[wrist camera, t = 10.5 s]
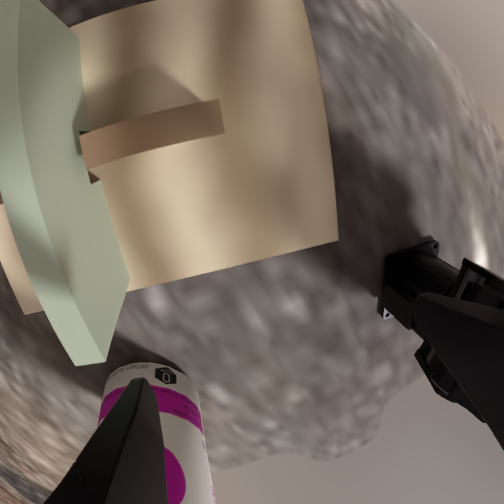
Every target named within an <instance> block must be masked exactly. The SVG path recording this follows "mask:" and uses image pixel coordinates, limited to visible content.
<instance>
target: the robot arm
mask: <svg viewBox="0 0 504 504" xmlns="http://www.w3.org/2000/svg"><path fill="white" fill-rule="evenodd" d="M438 251H439V242H437V241H435V240H432V241H429V242H426V243H423V244H420V245H417V246H414V247H411V248H408V249H404V250H401V251H398V252H395V253H392V254H389V255H387V256H386V258H385V264H384V282H383V296H382V310H381V316H382V318H384V319H385V320H386V319H389V318H392V317H395V318H396V319H397V320H398V321H399V322H400V323H401V324H402V325H403V326H404V327H405V328H407V329H408V330H410V329H412V330H413V331H414V332H416V333H417V334H418V335H419V336H420V337H421V338H422V339H423V340H424V341H423V343H422V345H421V346H420V348H419V349H417V351H416V353H415V354H414V356H415V357H416V359H417V361H418V363H419V364H420V366H421V368H422V370H423V371H424V373H425V375H426V376H427V378H428V380H429V382H430V383H431V385H432V387H433V389H434V390H435V392H436V393H437V394H439V395H440V396H441V397H443V398H445V399H447V400H449V401H451V402H454V403H458V404H460V405H461V406H463V407H465V408H466V409H467V410H468V411H470V412H471V413H472V414H473V415H474V416H475V417H477V418H478V419H479V420H480V421H481V422H483V423H487V425H488V426H489V428H490V429H491V431H492V432H493V434H494V436H495V437H496V439H497V441H498V442H499V444H500V445H501V447H502V449H503V450H504V279H503V278H501V277H500V276H498V275H496V274H495V273H493V272H491V271H489V270H488V269H486V268H484V267H482V266H480V265H478V264H476V263H474V262H472V261H470V260H468V259H466V258H464V259H463V261H462V267H461V269H460V270H458V269H456V268H455V267H453V266H451V265H450V264H448V263H446V262H444V261H443V260H441V259H439V258H438ZM390 260H391V261H390ZM43 504H168V496H167V485H166V471H165V453H164V441H163V434H162V428H161V422H160V415H159V407H158V400H157V397H156V394H155V393H154V391H153V389H152V387H151V386H150V384H149V382H148V380H147V379H146V378H145V377H139V378H134V379H132V380H131V381H130V382H129V384H128V385H127V386H126V388H125V389H124V391H123V392H122V393H121V395H120V396H119V398H118V399H117V401H116V402H115V403H114V405H113V406H112V408H111V409H110V411H109V412H108V414H107V415H106V416H105V418H104V419H103V421H102V422H101V424H100V425H99V427H98V428H97V430H96V431H95V432H94V434H93V435H92V437H91V438H90V440H89V441H88V443H87V444H86V446H85V447H84V449H83V450H82V452H81V453H80V455H79V456H78V458H77V459H76V462H74V463H73V465H72V466H71V468H70V469H69V471H68V472H67V474H66V475H65V477H64V478H63V479H62V481H61V482H60V484H59V485H58V486H57V487H56V489H55V490H54V491H53V492H52V494H51V495H50V496H49V497H48V499H47V500H46V501H45V502H44V503H43Z"/></svg>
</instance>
